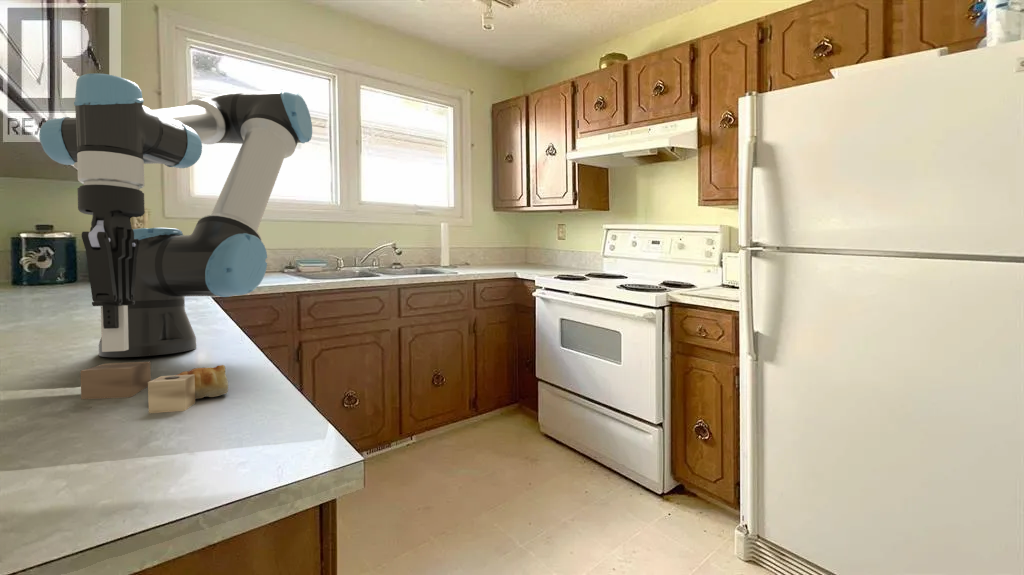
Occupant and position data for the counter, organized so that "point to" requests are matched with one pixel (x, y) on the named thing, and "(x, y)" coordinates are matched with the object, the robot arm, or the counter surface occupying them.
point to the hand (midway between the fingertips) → (115, 350)
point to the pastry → (209, 381)
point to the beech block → (171, 393)
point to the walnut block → (115, 380)
